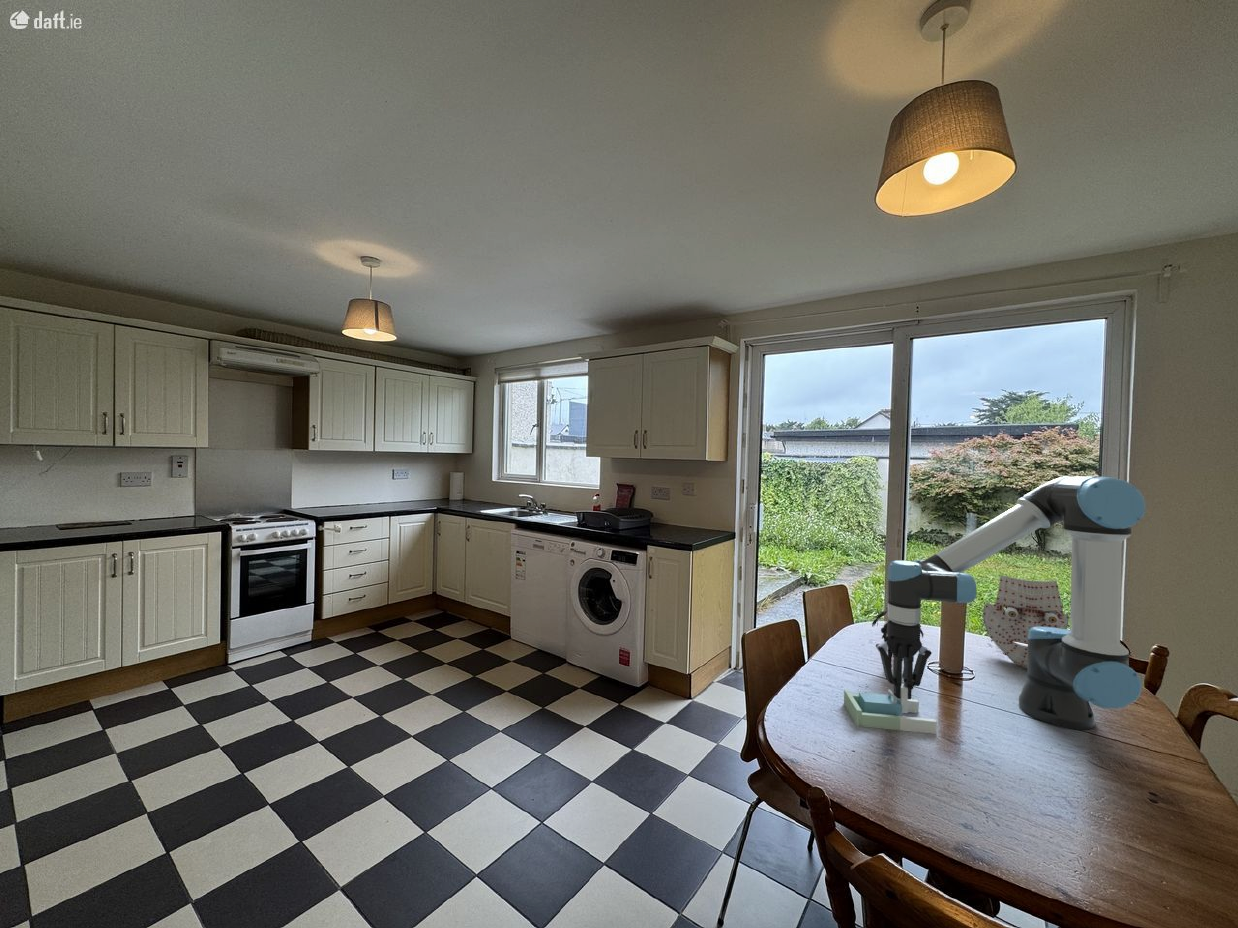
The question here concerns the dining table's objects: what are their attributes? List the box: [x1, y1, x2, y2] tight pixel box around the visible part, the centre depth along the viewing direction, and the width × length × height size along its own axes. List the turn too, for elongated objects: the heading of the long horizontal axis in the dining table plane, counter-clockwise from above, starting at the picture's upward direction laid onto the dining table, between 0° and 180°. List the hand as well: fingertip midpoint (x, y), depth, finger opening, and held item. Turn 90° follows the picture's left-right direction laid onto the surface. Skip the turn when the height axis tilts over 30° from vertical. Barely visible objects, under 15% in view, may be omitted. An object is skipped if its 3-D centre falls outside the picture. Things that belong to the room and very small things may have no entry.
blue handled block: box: [858, 689, 903, 716], centre depth 128 cm, size 9×6×7 cm
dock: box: [843, 689, 938, 735], centre depth 127 cm, size 19×11×4 cm, turn 80°
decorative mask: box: [982, 574, 1070, 670], centre depth 159 cm, size 23×17×30 cm
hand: (902, 710), depth 127 cm, fingers closed
